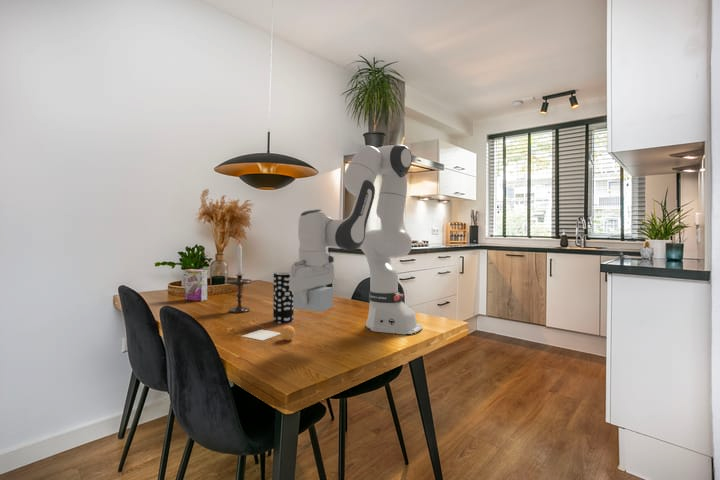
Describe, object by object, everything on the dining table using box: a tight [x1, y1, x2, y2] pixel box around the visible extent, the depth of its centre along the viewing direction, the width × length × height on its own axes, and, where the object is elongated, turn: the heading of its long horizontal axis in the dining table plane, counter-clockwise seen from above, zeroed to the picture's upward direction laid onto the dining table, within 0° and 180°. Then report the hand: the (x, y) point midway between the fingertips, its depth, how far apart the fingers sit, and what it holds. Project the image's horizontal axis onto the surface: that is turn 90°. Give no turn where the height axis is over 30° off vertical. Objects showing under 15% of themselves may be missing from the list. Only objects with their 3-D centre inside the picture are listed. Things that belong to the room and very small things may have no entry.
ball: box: [280, 325, 296, 341], centre depth 126 cm, size 5×5×5 cm
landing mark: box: [241, 329, 281, 342], centre depth 132 cm, size 10×10×1 cm
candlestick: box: [226, 237, 253, 314], centre depth 170 cm, size 11×11×35 cm
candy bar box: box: [184, 268, 208, 302], centre depth 195 cm, size 11×5×16 cm, turn 72°
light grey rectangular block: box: [293, 286, 334, 313], centre depth 119 cm, size 11×7×6 cm, turn 61°
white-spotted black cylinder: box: [272, 272, 295, 324], centre depth 152 cm, size 8×8×20 cm
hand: (313, 301), depth 119 cm, fingers closed on light grey rectangular block, 7 cm apart
